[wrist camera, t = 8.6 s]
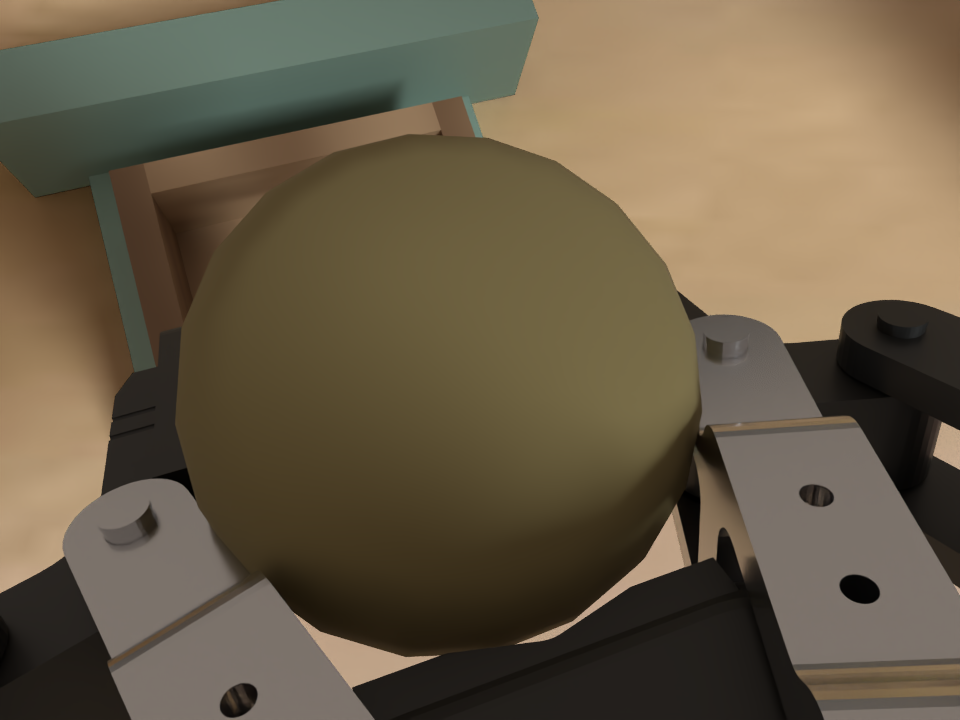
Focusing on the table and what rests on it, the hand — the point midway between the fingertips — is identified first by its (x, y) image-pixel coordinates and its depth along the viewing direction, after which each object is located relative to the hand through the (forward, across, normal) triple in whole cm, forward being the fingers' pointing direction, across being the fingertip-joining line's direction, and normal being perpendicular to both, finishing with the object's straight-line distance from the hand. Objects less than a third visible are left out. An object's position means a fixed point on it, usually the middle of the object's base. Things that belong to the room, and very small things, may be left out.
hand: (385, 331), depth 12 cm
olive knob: (+2, 0, +5) cm, 6 cm away
